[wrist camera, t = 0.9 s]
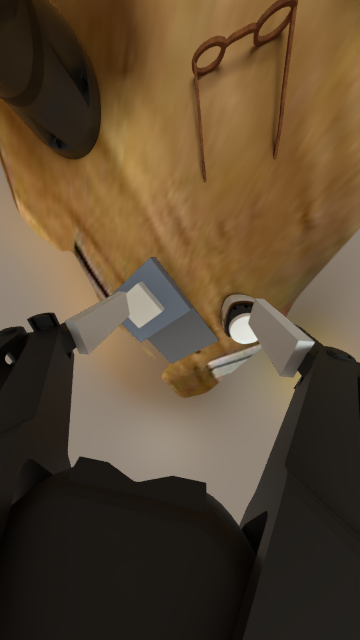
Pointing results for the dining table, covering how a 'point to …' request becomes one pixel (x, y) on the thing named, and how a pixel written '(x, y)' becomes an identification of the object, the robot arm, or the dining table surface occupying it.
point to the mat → (183, 336)
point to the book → (165, 294)
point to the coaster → (142, 305)
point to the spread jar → (238, 318)
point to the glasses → (254, 28)
